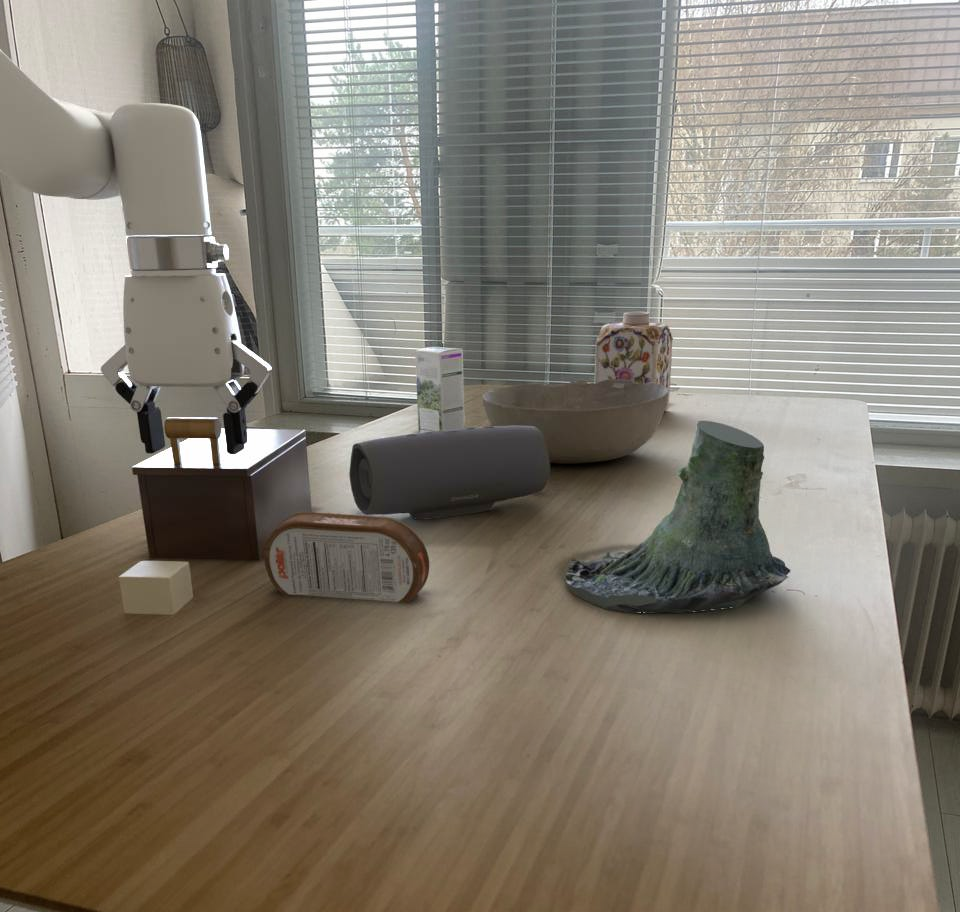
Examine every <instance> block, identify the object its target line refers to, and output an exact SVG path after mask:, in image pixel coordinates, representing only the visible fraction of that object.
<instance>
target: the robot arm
mask: <svg viewBox="0 0 960 912" xmlns="http://www.w3.org/2000/svg"><path fill="white" fill-rule="evenodd" d="M204 158H205V157H204V148H203V139H202V132H201V124H200V121H199V119H198V117H197V116H196V114H195V113H194V112H193V111H192V110H191V109H189V108H188V107H185V106H182V105H179V104H178V105H177V104H171V103H161V102H139V103H128V104H123V105H121V106H119V107H117V108H115V110H113V112H112V111H111V112H110V111H104V110H97V109H93V108H88V107H84V106H81V105H78V104H77V103H76V104H75V103H72V102H69V101H65V100H61V99H57V98H54V97H52V96H51V95H50V94H48V93H47V92H46V91H45V90H43V88H41V87H40V86H39V85H38V84H37V83H36V82H35V81H34V80H33V79H32V78H31V77H30V76H29V75H28V74H26V73H25V72H24V71H23V70H22V69H21V68H20V67H19V66H18V65H17V63H15V62H14V61H13V60H12V59H11V58H10V57H9V56H8V55H6V53H5V52H3V50H2V49H1V48H0V172H1V173H2V174H3V175H4V176H5V177H6V178H8V179H9V180H10V181H12V182H13V183H15V184H17V185H18V186H20V187H21V188H24V189H25V190H27V191H29V192H32V193H34V194H37V195H39V196H40V195H41V196H45V197H55V198H70V199H74V200H86V201H98V200H106V199H112V198H117V197H120V206H121V212H122V218H123V225H124V231H125V240H126V247H127V254H128V255H127V256H128V262H129V270H130V274H129V275H125V276H124V282H123V283H124V284H123V299H122V301H123V303H122V304H123V305H122V306H123V307H122V308H123V309H122V317H123V318H122V319H123V335H124V338H123V339H124V345H123V346H122V347H121V348H119V350H117V351H116V352H115V353H114V354H113V355H112V356H111V357H110V358H109V359H108V360H107V361H106V362H104V363H103V364H102V365H101V366H100V372H101V374H102V375H103V376H104V377H105V378H106V380H107V381H108V382H109V383H110V385H112V387H114V388H115V391H116V393H117V394H118V395H119V396H120V397H121V398H122V399H123V400H124V401H126V402H127V403H128V404H129V405H130V409H131V410H132V412H135V413H136V416H137V423H138V430H139V437H140V441H141V443H142V444H144V449H145V453H146V454H154V453H157V452H159V451H160V450H163V449H164V448H165V447H166V439H165V430H164V425H163V418H162V411H161V409H160V406H156V403H155V402H156V400H157V397H158V395H159V393H160V391H161V389H162V387H164V388H165V387H166V388H169V387H171V388H204V387H205V388H212V387H213V388H214V390H215V392H216V393H217V394H218V396H219V397H220V399H221V401H222V402H223V403H224V405H225V406H226V412H224V413H223V415H222V421H223V427H224V428H223V429H224V430H225V439H226V448H227V453H229V454H237V453H238V452H240V451H242V450H243V449H244V446H245V445H244V444H246V443H247V440H248V435H247V429H248V426H247V416H246V409H247V407H249V404H250V403H251V402H252V401H253V400H254V399H255V398H256V396H257V395H259V393H260V391H261V390H262V387H263V385H264V384H265V383H266V381H267V379H268V378H269V376H270V375H271V373H272V366H271V365H270V364H269V363H268V362H266V361H265V360H264V359H263V358H262V357H260V356H258V355H257V354H256V353H254V352H253V351H251V349H249V348H248V347H246V346H245V345H244V344H242V337H241V332H240V326H239V321H238V316H237V313H236V308H235V303H234V299H233V295H232V291H231V288H230V284H229V282H228V281H229V280H228V278H227V275H226V273H217V268H218V267H219V266H218V263H220V262H221V261H228V260H229V258H230V250H229V247H228V245H227V244H223V243H222V244H219V243H218V242H216V238H215V237H214V236H212V235H213V234H212V225H211V223H212V222H211V214H210V205H209V194H208V185H207V176H206V166H205V159H204ZM126 367H127V368H128V373H129V376H130V378H131V380H130V379H129V378H128V377H127V375H126V374H125V372H124V369H125V368H126ZM245 368H246V369H247V370H249V373H250V374H249V375H250V376H249V377H248V379H247V381H246V383H245V384H244V385H243V386H242V387H241V386H240V384H239V383H238V381H237V380H238V379H241V378H243V376H244V373H245ZM135 383H136V384H137V385H136V384H135Z"/></svg>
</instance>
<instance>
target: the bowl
mask: <svg viewBox="0 0 960 912" xmlns="http://www.w3.org/2000/svg"><path fill="white" fill-rule="evenodd" d="M668 394H669V395H670V393H669V390H668V388H667V387H665V386H664V385H662V384H658V383H652V382H649V383H646V384H645V383H640V382H639V383H637V382H634V381H632V380H613V379H606V380H602V381H600V382H598V383H594V382H590V383H589V382H587V381H585V380H576V381H574V380H573V381H569V382H568V383H563V384H549V383H547V384H544V383H526V384H525V383H523V384H514V385H509V386H503V387H500V388H496V389H490V390H487V391H486V392H484V393H483V394H482V396H481V400H482V405H483V407H484V410H485V414H486V416H487V419H488V422H489V424H490V426H534V427H536V428H538V429H539V430H540V431H541V432H542V434H543V436H544V439H545V443H546V446H547V450H548V455H549V461H550V464H559V465H561V464H565V465H566V464H570V465H571V464H589V463H598V462H606V461H612V460H616V459H620V458H622V457H625V456H628V455H630V454H632V453H634V452H636V451H638V449H640V448H642V447H643V446H644V445H645V444H646V443H647V442H649V440H650V439H651V438H652V437H653V435H654V434H655V433H656V432H657V430H658V428H659V425H660V424H661V421H662V419H663V417H664V413H665V411H664V410H665V407H666V404H667V399H668Z"/></svg>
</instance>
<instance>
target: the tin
mask: <svg viewBox="0 0 960 912" xmlns="http://www.w3.org/2000/svg"><path fill="white" fill-rule="evenodd" d="M263 561H264V566H265V570H266V573H267V576H268V578H269V580H270V582H271V583H272V585H273V586H274V588H275V589H277V591H278V592H279V593H280V594H282V595H289V596H290V595H291V596H292V595H294V596H295V595H296V596H297V595H298V596H310V597H312V596H313V597H323V598H324V597H326V598H336V599H337V598H338V599H349V600H350V599H352V600H364V601H365V600H366V601H367V600H368V601H381V602H382V601H384V602H394V603H400V604H402V603H403V604H408V603H411V601H412V600H413V599H414V598H415V597H416V596H417V595H418V594H419V593H420V592H421V590H422V589H423V588H424V586H425V585H426V583H427V581H428V578H429V573H430V558H429V553H428V550H427V547H426V546H425V544H424V542H423V540H422V539H421V537H420V536H419V534H418V533H417V532H416V531H415V530H414V529H412V528H411V527H410V526H409V525H407V524H406V523H404V522H402V521H400V520H398V519H395V518H393V517H387V516H379V515H361V514H347V513H344V514H343V513H331V512H319V511H318V512H317V511H312V512H300V513H296V514H293V515H291V516H289V517H288V518H286V519H285V520H284V521H282V522H281V524H280V525H279V526H278V527H277V528H276V529H275V530H274V531H273V532H272V533H271V535H270V536H269V538H268V540H267V542H266V544H265V548H264V557H263Z"/></svg>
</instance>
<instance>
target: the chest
mask: <svg viewBox="0 0 960 912" xmlns="http://www.w3.org/2000/svg"><path fill="white" fill-rule="evenodd" d="M308 462H309V460H308V447H307V437H306V436H305V437H304V438H302V439H301V440H300V441H298V442H297V443H295V444H294V445H292V446H291V447H289V448H288V449H287V450H285V451H284V452H282V453H281V454H279V455H278V456H276V457H275V458H274V459H272V460H271V461H269V462H268V463H266V464H265V465H263V466H262V467H261V468H259V469H258V470H256V471H255V472H253V473H252V474H250V475H249V476H248V477H235V476H170V475H136V476H137V477H136V478H137V483H138V490H139V498H140V503H141V511H142V516H143V517H142V518H143V524H144V530H145V538H146V545H147V552H148V557H149V559H179V560H180V559H181V560H182V559H183V560H222V561H223V560H224V561H261V560H262V559H264V548H265V544H266V542H267V540H268V538H269V536H270V535H271V533H272V532H273V531H274V530H275V529H276V528H277V527H278V526H279V525H280V524H281V522H282V521H284V520H285V519H286V518H288V517H289V516H291V515H293V514H296V513H300V512H313V510H312V498H311V484H310V473H309V463H308Z"/></svg>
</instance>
